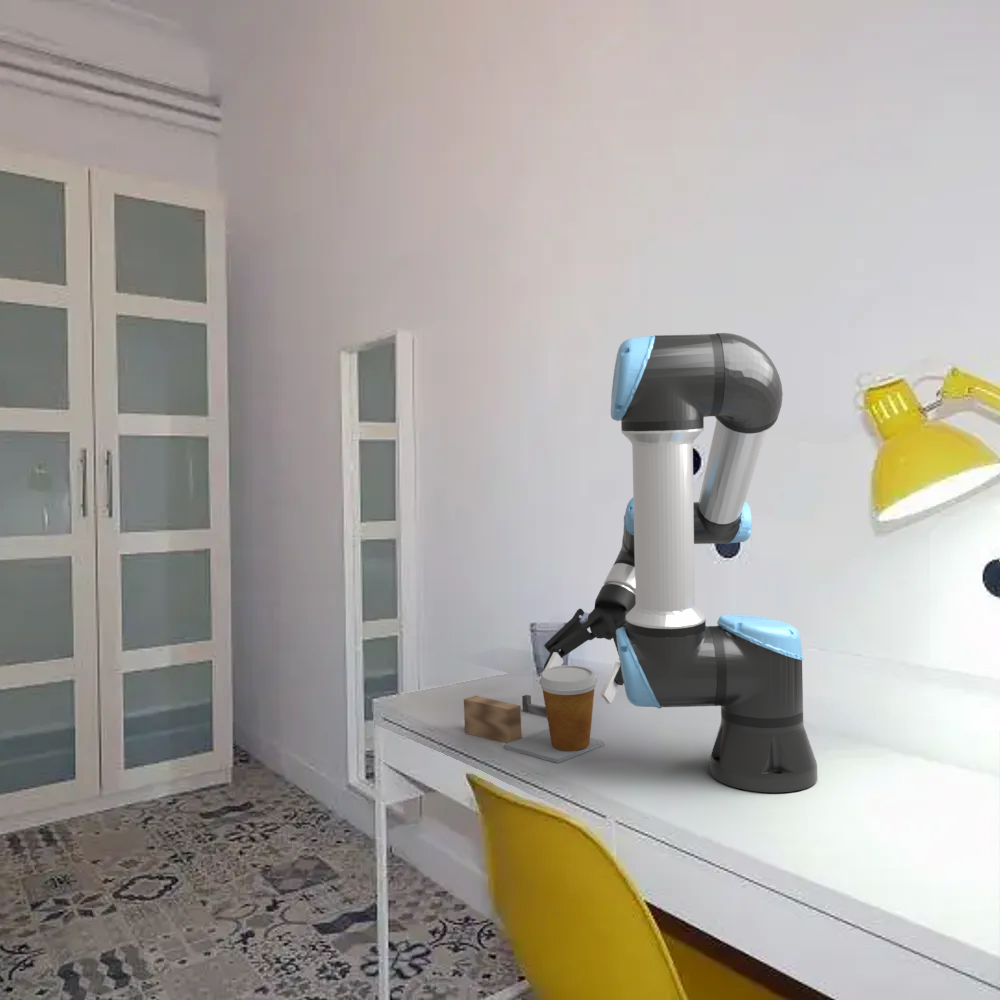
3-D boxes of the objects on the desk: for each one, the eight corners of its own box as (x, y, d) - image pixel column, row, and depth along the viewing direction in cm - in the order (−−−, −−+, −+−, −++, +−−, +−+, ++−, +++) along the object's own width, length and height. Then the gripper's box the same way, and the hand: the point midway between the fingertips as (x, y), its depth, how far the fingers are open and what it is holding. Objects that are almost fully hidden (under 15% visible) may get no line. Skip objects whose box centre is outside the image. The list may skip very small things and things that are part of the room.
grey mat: (604, 744, 144) (604, 740, 144) (558, 763, 136) (557, 759, 136) (550, 731, 153) (550, 727, 153) (503, 748, 144) (503, 744, 144)
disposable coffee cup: (597, 731, 147) (594, 663, 146) (601, 754, 138) (599, 681, 136) (541, 733, 147) (538, 665, 146) (542, 756, 138) (538, 684, 137)
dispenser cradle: (580, 722, 158) (579, 689, 158) (514, 746, 145) (513, 710, 145) (526, 710, 167) (525, 679, 167) (460, 731, 155) (459, 698, 154)
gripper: (688, 612, 152) (643, 716, 142) (577, 601, 169) (529, 693, 159) (671, 586, 148) (624, 691, 138) (559, 577, 165) (509, 670, 155)
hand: (573, 693), depth 148 cm, fingers open, 13 cm apart
